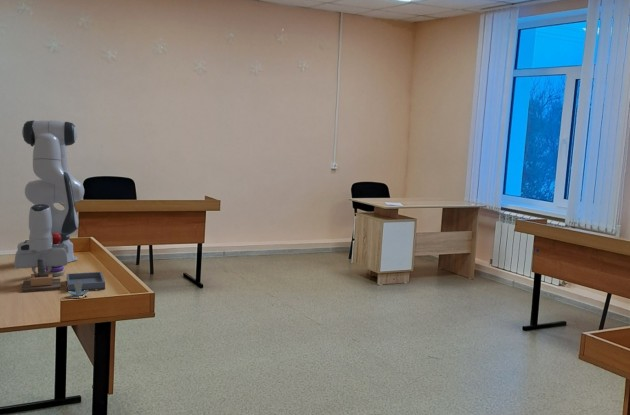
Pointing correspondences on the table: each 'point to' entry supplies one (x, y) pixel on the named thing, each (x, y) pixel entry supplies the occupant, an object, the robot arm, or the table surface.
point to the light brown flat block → (41, 280)
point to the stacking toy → (56, 269)
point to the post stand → (41, 273)
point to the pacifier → (77, 290)
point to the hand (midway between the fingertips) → (41, 277)
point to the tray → (86, 281)
